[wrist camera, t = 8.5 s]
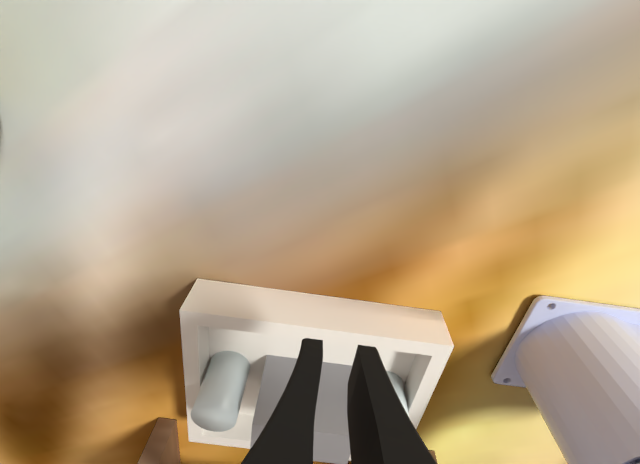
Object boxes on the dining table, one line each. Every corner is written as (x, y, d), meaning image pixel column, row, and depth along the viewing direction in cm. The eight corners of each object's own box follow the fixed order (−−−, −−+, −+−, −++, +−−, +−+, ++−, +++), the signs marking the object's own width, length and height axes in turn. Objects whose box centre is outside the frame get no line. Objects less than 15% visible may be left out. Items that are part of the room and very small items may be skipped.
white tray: (440, 311, 23) (471, 391, 18) (393, 428, 30) (405, 512, 24) (197, 278, 23) (155, 351, 18) (202, 404, 29) (172, 486, 24)
